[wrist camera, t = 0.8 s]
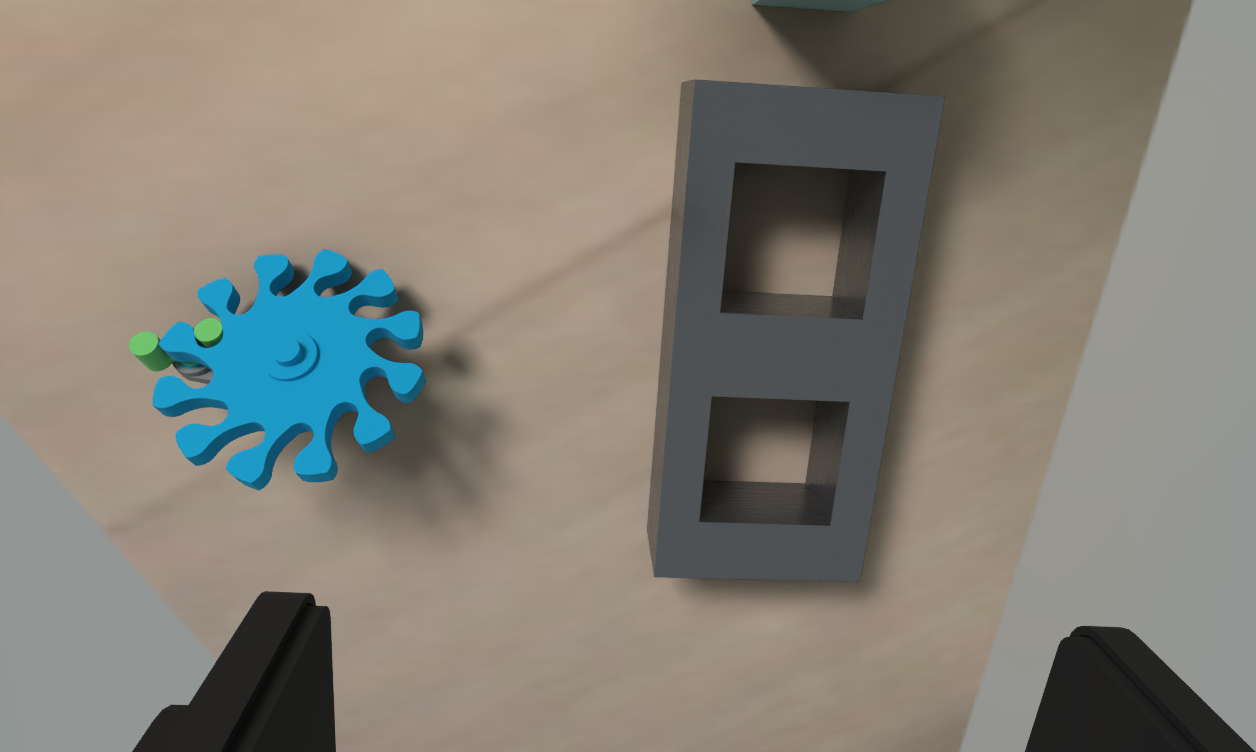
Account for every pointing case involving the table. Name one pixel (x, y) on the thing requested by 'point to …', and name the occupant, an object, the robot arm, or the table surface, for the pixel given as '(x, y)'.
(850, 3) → the peg
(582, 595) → the table surface
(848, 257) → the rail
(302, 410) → the gear
